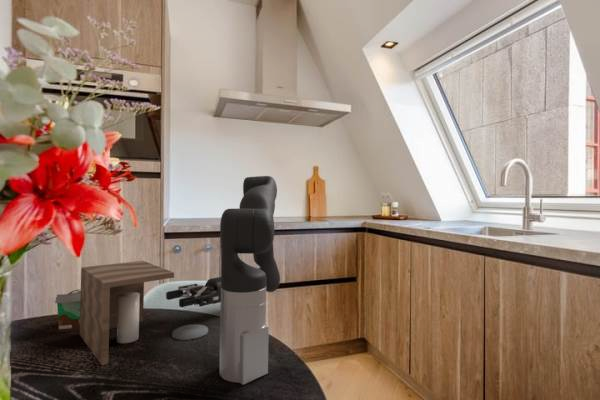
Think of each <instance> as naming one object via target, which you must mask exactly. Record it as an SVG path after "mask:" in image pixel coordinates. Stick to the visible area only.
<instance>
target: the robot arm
mask: <svg viewBox="0 0 600 400" xmlns="http://www.w3.org/2000/svg"><path fill="white" fill-rule="evenodd" d="M242 193H243V196H242V198H241V200H240V203H239V208H227V209H224V211H223V213H222V214H221V218H220V222H219V223H220V224H219V226H220V227H219V237H220V238H219V239H220V240H219V241H220V242H219V243H220V276H217V277H211V278H209V279H207V281H206V282H205V284H204V285H202V284H200V285H199V284H198V283H193V284H186V285H181V286H178V288H177V289H175V290H170V291H169V290H168V291H167V292H166V293H165V298H166V299H165V300H168V301H170V300H174V299H178V307H180V308H186V307H189V306H193V305H194V306H198V307H204V306H207V305H208V306H209V305H215V304H219V303H220V310H219V311H220V319H219V321H220V322H219V368H218V369H219V370H218V371H219V373H218V374H219V376H220V377H221V378H222V379H223V380H224V381H227V382H231V383H237V384H238V383H239V384H240V385H246V384H248V383H251V382H252V381H255V380H257V379H258V378H261V377H263V376H266V375H267V374H268V373H269V335H270V334H269V330H270V328H269V326H268V325H267V324H266V322H267V319H266V318H267V292H268V293H273V292H275V291H277V289H278V288H279V286H280V282H281V275H280V271H279V268H278V265H277V262H276V259H275V256H274V254H275V253H274V251H275V250H274V239H275V220H274V214H275V210H276V208H275V207H276V199H277V195H278V188H277V182H276V180H275V179H274V177H272V176H270V175H259V176H249V177H248V176H247V177H245V178H244V179H243V183H242ZM239 254H240V255H241V254H243V255H244V254H253V256H252V257H253V262H254V263H255V264H256V265H257V266H258V268H257V267H255V266H252V265H250V264H248V263H247V262H244V261H243V260H242V259H241V258H240V257H239Z"/></svg>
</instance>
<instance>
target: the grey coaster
mask: <svg viewBox="0 0 600 400" xmlns="http://www.w3.org/2000/svg"><path fill="white" fill-rule="evenodd" d="M207 334H209V328H208V326H206V325H203V324H186V325H182V326H179V327H177V328H175V329H174V330H173V331H172V333H171V337H172V338H173V339H175V340H177V341H192V340H191V339H194V340H197V339H196V338H198V339H200V338H199V337H201V338H203V337H205V336H206V335H207ZM204 335H205V336H204ZM202 336H203V337H202Z"/></svg>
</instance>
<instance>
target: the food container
mask: <svg viewBox="0 0 600 400" xmlns="http://www.w3.org/2000/svg"><path fill="white" fill-rule="evenodd" d="M80 302H81V288H80V289H74V290H72V291H70V292H68V293H65V294H62V293H61V294H59V293H57V294H56V297H55V302H54V303H55V304H56V306H57V308H56V309H57V322H58V332H59V333H61V332H62V333H64V332H65V333H66V332H72V331H78V330H80Z"/></svg>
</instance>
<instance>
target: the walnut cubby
mask: <svg viewBox="0 0 600 400" xmlns="http://www.w3.org/2000/svg"><path fill="white" fill-rule="evenodd" d="M80 269H81V270H80V289H81V302H80V329H79V336H80V337H81V338H82V340H83V341H84V343H85V344H86V345H87V347H88V348H89V350H90V351H91V352H92V353H93V355H94V357H95V358H96V359H97V361H98V362H99V363H100V365H101V366H105V365H108V364H109V353H110V352H109V349H110V348H109V347H110V345H109V344H110V330H111V329H112V330H113V329H117V312H118V295H120V294H123V293H130V292H137V293H140V301H139V323H140V321H141V322H144V303H145V302H144V301H145V300H144V297H145V283H147V282H148V283H149V282H154V281H161V280H167V279H172V278H175V272H174V271H171V270H169V269H167V268H166V269H165V268H163V267H160V266H158V265H155V264H152V263H151V262H148V261H145V260H136V261H128V262H120V263H119V262H117V263H111V264H110V263H109V264H101V265H92V266H84V267H83V266H81V268H80Z"/></svg>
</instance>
